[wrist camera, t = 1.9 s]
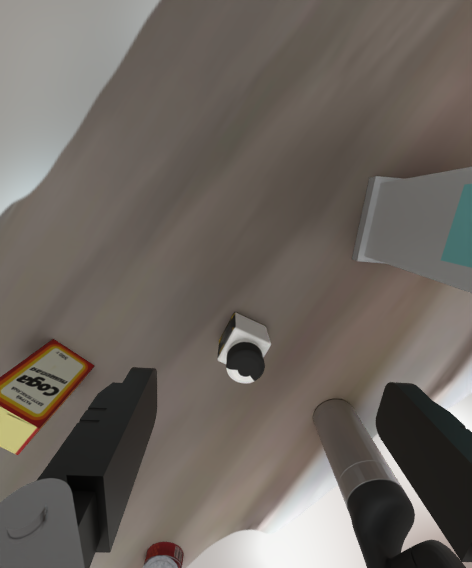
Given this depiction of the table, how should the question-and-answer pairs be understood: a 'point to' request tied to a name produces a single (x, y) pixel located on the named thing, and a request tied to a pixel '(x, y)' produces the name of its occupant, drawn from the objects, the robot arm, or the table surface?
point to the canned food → (164, 556)
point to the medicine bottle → (244, 348)
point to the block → (461, 232)
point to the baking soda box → (37, 392)
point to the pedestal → (413, 224)
